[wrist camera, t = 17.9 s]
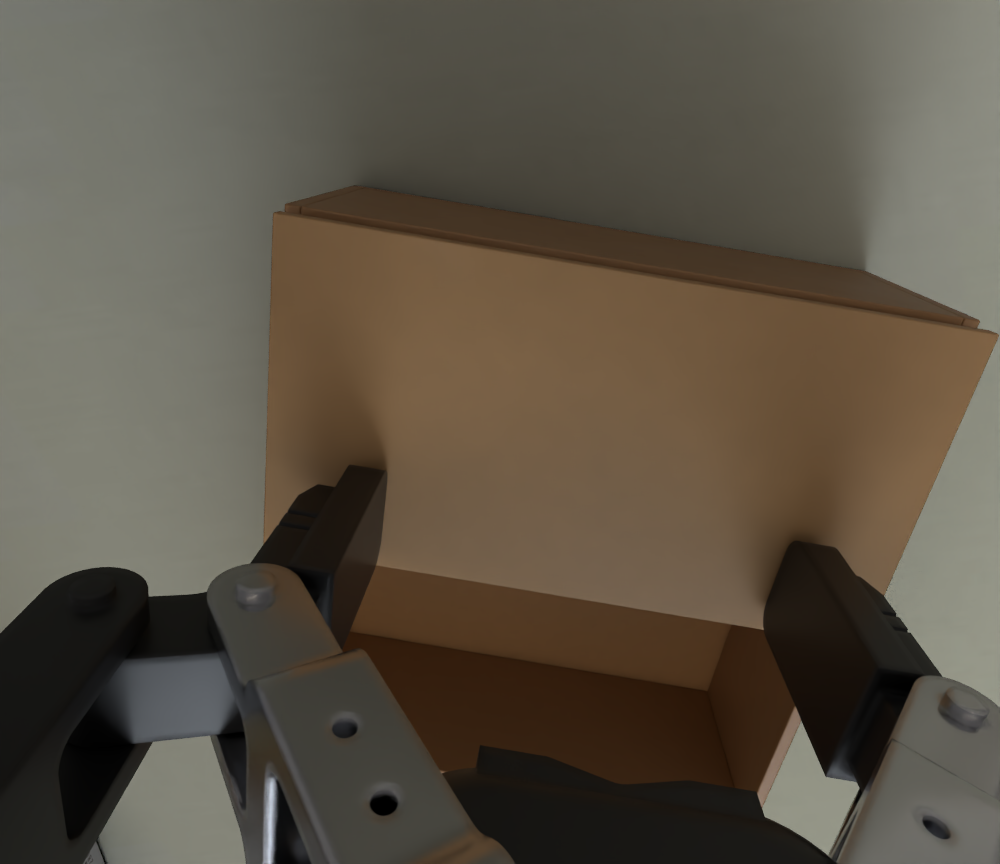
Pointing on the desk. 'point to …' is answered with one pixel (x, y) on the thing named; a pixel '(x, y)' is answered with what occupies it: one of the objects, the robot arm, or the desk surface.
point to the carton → (575, 622)
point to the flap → (601, 417)
